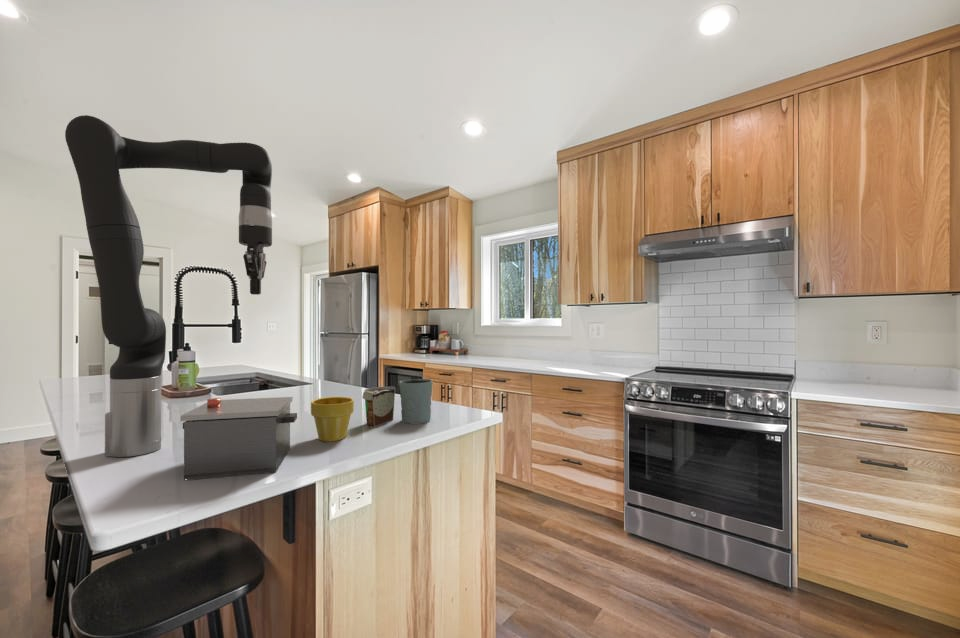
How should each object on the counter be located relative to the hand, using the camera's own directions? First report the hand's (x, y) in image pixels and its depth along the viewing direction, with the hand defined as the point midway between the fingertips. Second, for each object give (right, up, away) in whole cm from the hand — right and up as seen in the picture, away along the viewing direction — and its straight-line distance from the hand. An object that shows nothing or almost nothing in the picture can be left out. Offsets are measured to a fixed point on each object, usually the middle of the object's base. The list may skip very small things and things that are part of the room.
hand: (255, 294), depth 108 cm
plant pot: (+19, -37, +1) cm, 42 cm away
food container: (+26, -37, +17) cm, 49 cm away
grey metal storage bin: (+7, -37, -18) cm, 42 cm away
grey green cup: (+38, -37, +21) cm, 57 cm away
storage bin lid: (+7, -26, -18) cm, 32 cm away
